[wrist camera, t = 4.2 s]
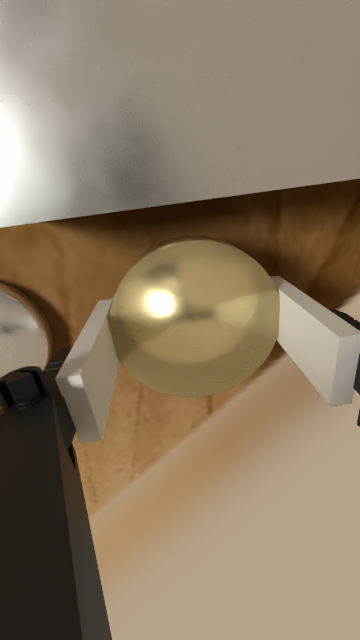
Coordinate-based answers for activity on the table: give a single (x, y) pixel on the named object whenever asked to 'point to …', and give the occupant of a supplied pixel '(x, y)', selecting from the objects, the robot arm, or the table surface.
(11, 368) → the silver disc
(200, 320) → the gold disc
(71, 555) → the robot arm
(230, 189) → the housing
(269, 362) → the table surface
